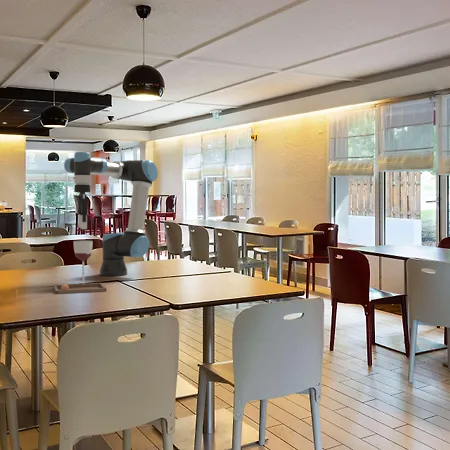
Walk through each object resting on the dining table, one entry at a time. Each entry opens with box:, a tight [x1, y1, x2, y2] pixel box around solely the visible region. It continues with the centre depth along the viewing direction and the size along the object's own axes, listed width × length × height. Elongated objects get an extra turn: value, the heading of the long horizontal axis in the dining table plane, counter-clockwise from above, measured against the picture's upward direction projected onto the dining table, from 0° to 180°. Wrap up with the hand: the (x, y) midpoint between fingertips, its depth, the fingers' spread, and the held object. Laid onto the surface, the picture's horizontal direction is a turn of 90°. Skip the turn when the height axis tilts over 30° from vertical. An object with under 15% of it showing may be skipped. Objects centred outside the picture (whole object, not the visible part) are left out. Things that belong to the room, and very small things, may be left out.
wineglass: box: [73, 240, 93, 284], centre depth 279 cm, size 9×10×22 cm
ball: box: [61, 283, 69, 290], centre depth 259 cm, size 4×4×4 cm
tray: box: [53, 282, 107, 295], centre depth 265 cm, size 22×16×2 cm
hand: (82, 228), depth 278 cm, fingers open, 13 cm apart
